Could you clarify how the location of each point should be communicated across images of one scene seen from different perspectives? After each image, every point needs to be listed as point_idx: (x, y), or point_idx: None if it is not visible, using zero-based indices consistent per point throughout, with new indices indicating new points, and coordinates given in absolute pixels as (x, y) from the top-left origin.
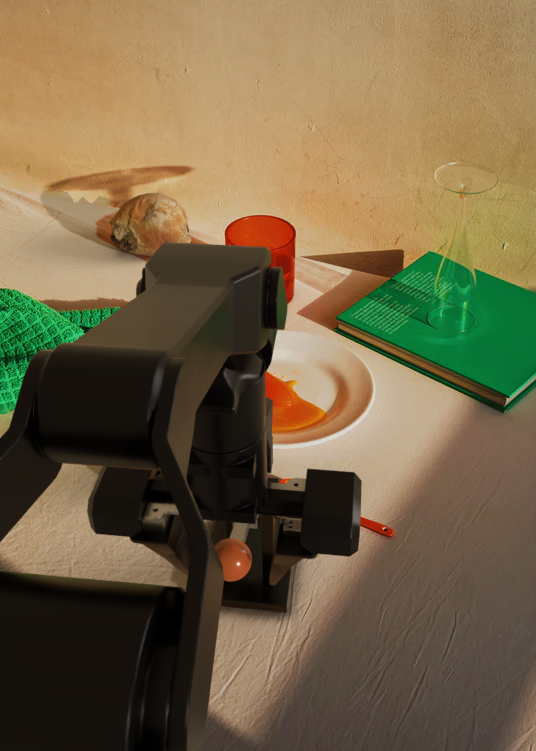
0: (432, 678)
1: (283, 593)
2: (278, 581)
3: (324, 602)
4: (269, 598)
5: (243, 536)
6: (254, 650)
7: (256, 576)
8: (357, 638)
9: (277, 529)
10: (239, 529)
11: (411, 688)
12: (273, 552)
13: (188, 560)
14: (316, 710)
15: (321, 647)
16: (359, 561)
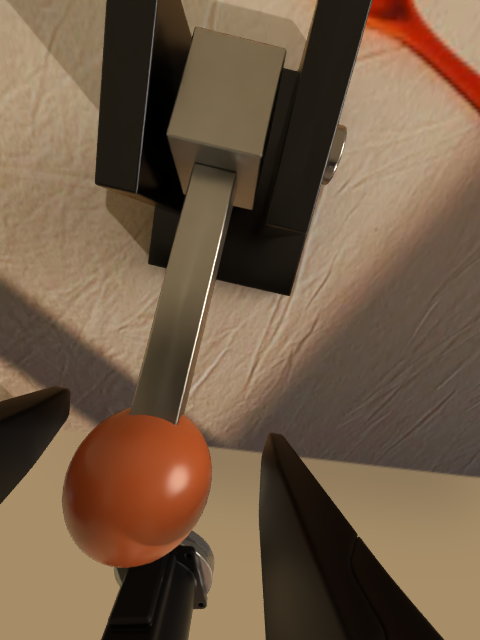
0: (454, 406)
1: (288, 272)
2: (283, 246)
3: (348, 280)
4: (264, 279)
5: (191, 358)
6: (234, 344)
7: (247, 231)
8: (378, 343)
9: (329, 602)
10: (181, 310)
11: (421, 414)
12: (285, 555)
13: (2, 479)
14: (300, 424)
15: (325, 350)
16: (433, 202)
